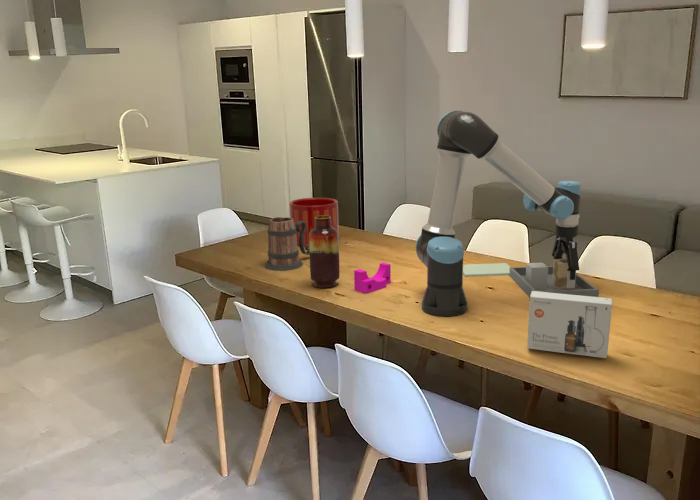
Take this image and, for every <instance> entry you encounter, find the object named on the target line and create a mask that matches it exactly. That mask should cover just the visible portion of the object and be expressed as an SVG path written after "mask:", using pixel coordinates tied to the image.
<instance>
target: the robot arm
mask: <svg viewBox="0 0 700 500" xmlns="http://www.w3.org/2000/svg"><path fill="white" fill-rule="evenodd" d="M436 131H437V132H436V133H437V137H438V139H437V141H438V142H437V145H436V150H437V152H438V153H439V158H438V159H439V160H438V165H437V170H436V177H435V180H434V181H435V182H434V187H433V193H432V198H431V203H430V209H429V212H428V213H429V215H428V219H427V223H426V224H424V225H423V226H422V227H421V228H422V229H421V234H420V236H419V237H418V238H417V240H416V242H415V251H416V252H415V253H416V255H417V257H418V259H419V260H420V262H421V263H422V264H424V266H425V267H426V268H427V270H426V273H427V275H426V276H427V277H426V280H427V282H426V283H427V284H426V288H425V291H424V294H423V298H422V300H421V309H422V311H423V312H425V313H427V314H429V315H433V316H438V317H439V316H441V317H453V316H458V315H462V314H465V313H467V311H468V299H467V297H466V294H465V290H464V286H463V285H464V284H463V281H464V279H463V277H464V275H463V265H464V257H465V256H464V255H465V251H464V245H463V242H462V241H461V240H459V239H457V238H455V237H456V230H454V228H453V225H454V220H455V214H456V210H457V203H458V199H459V195H460V189H461V183H462V179H463V178H462V177H463V173H464V169H465V163H466V159H467V158H468V157H470V156H471V155H473V156H475V158H477V159H478V160H482V159H483V160H484V161H485V162H486V163H488V164H489V166H491V167H492V168H493V169H495V170H496V171H497V172H498V173H499V174H501V175H502V176H503V177H505V178H506V180H508V182H510V183H512V184H513V185H514V186H515V187H516V188H517V189H518V190H520V191H521V192H522V193H523V199H522V201H523V206H524V208H525V210H527V211H532V212H535V211H540V212H542V213H545V214H547V215H549V216H550V217H552V218H554V219H555V241H554V244H553V247H552V252H551V256H552V258H553V260H557V259H563V256H564V255H565V257H566V258H565V259H567V263H568V268H569V269H567V287H566V288H575V278H576V273H577V271H580V263H579V255H578V254H579V253H578V242H577V241H574V238H576V237H577V236H579V226H578V225H579V219H580V217H581V215H580V207H581V206H580V205H581V196H582V193H581V191H582V189H581V183H580V182H579V181H575V180H560V181H559V182H558V185H557V187H554V186H553V185H552V184H551V183H550V182H548V181H547V180H546V179H545V178H544V177H543V176H541V175H540V174H539V173H538V172H537V171H535V169H533V168H532V167H531V166H529V164H528V163H526V162H525V161H524V160H523V159H522V158H520V156H518V155H517V154H516V153H514V151H513V150H511V149H510V148H509V147H508V146H506V144H504V142H502V141H501V140H500V135H499V134H498V133H497V132H495V130H493V129H492V128H491V127H490V126H489V125H488V124H487V123H486V122H485V121H484V120H483V119H482V118H481V117H480V116H478V115H477V114H475V113H473V112H470V111H462V110H452V111H450V112H447V113H445V114H444V115H443V116H442V117H441V118H440V120H439V121H438V123H437V128H436Z"/></svg>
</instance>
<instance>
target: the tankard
mask: <svg viewBox="0 0 700 500" xmlns="http://www.w3.org/2000/svg"><path fill="white" fill-rule="evenodd" d="M301 223H302V229H301V226H300V225H301ZM300 229H301V231H300ZM305 231H306V223H305V222H304V221H298V222H297V223H296V224H295V223H294V219H293V218H290V217H281V216H280V217H279V216H278V217H272V218H270V219H269V221H268V228H267V239H268V245H267V246H268V251H267V256H268V260H266V263H265V264H264V268H265V270H269V271H274V272H285V271H293V270H297V269H300V268H302V267H303V265H304V263H303V262H302V260H301V259H300V257H299V254H300V253H299V249H300V251H301V253H302V254H303V255H306V256H310V254H309V245H308V244H307V245H305V247H304V246H303V238H304V234H305ZM296 232H299V233H300V235H299V246H297V237H296ZM298 247H299V249H298Z"/></svg>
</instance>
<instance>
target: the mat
mask: <svg viewBox="0 0 700 500" xmlns="http://www.w3.org/2000/svg"><path fill="white" fill-rule="evenodd" d="M510 267H511V266H510V265H509V264H508V263H507V262H499V263H494V262H493V263H474V264H473V263H470V264H468V263H467V264H463V277H464V278H468V277H469V278H470V277H471V278H473V277H492V276H494V277H495V276H496V277H497V276H499V277H500V276H509V272H510Z"/></svg>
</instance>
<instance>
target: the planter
mask: <svg viewBox="0 0 700 500" xmlns="http://www.w3.org/2000/svg"><path fill="white" fill-rule="evenodd" d="M288 204H289V206H288V207H289V218H293V219H294V223H295V224H296V223H297V222H298V221H304V222H305V223H306V231H305V234H304V238H303V246H304V248H305V245H307V244H308V245H309V232H310V231H311V230H312V229H314V228H315V217H316V216H323V215H325V216H330V217H331V227H332V228H334V229H336V230H337V231H338V237H339V238H340V230H339V229H340V227H339V224H340V223H339V201H338V199H335V198H329V197H305V198H297V199H294V200H291V201H289V203H288ZM300 226H301V229H302V223H301V225H300ZM301 229H300V231H301ZM299 235H300V233H299V232H296V237H297V245H298V246H297V247H299Z"/></svg>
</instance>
